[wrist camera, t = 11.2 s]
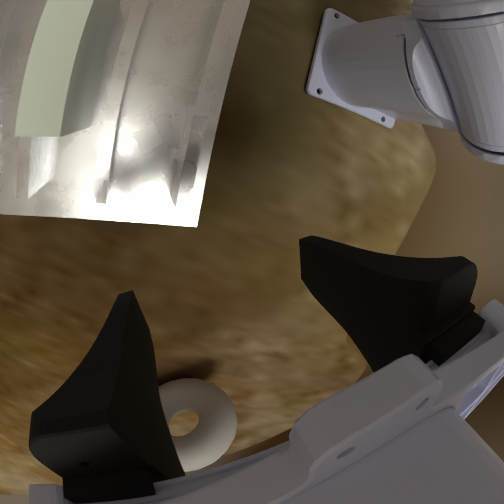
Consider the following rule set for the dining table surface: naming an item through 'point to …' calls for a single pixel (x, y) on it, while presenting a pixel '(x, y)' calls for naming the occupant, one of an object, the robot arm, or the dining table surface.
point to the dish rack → (124, 115)
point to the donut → (200, 420)
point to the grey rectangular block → (65, 67)
